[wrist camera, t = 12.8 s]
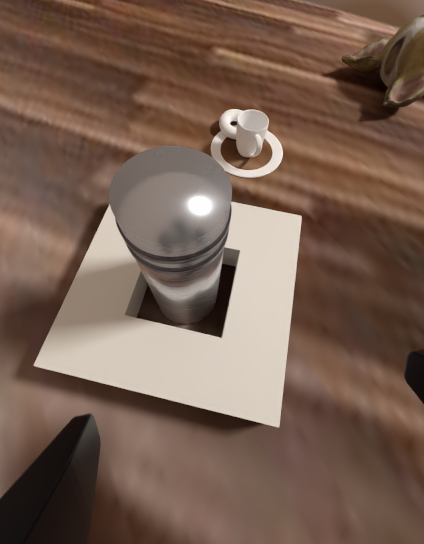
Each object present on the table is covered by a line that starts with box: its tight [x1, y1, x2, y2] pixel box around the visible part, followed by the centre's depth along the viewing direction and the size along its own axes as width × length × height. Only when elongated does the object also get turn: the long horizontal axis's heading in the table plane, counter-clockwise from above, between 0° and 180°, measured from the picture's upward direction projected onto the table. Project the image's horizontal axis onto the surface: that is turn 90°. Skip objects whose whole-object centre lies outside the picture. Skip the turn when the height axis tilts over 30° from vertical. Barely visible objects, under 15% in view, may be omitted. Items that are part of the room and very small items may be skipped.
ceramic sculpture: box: [342, 15, 424, 107], centre depth 32 cm, size 11×9×15 cm
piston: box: [109, 146, 232, 324], centre depth 17 cm, size 5×5×13 cm
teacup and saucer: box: [211, 109, 283, 178], centre depth 29 cm, size 9×8×4 cm
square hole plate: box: [33, 202, 302, 428], centre depth 22 cm, size 16×16×3 cm
